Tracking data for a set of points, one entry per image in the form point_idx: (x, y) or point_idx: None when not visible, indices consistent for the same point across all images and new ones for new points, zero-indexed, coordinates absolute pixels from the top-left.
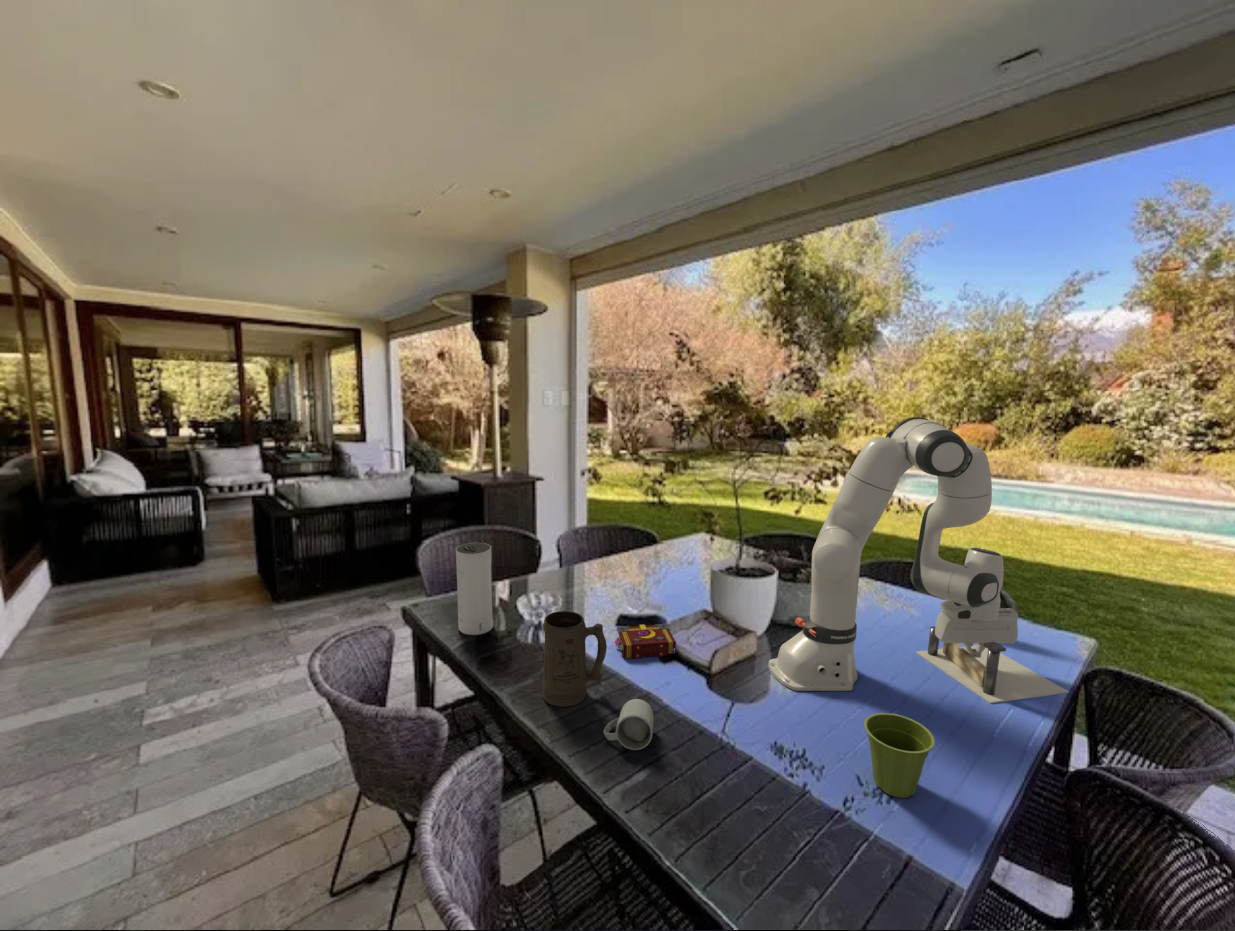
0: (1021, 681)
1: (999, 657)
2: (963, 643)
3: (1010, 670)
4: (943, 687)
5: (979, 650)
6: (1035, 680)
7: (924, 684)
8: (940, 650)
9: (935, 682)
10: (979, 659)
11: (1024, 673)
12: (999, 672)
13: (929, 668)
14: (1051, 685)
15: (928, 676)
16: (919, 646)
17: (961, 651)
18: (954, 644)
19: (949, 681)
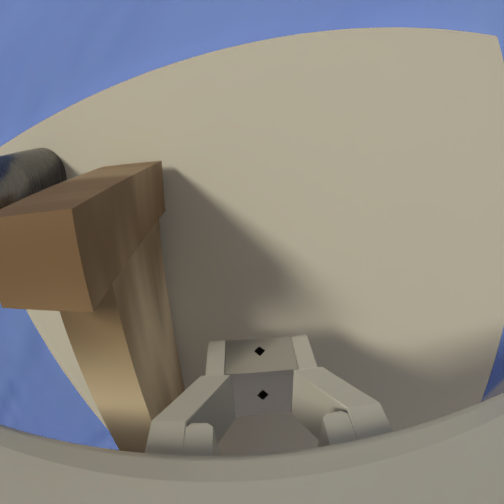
0: (392, 413)
1: (485, 201)
2: (159, 415)
3: (430, 341)
4: (55, 437)
5: (300, 413)
6: (449, 391)
7: (6, 416)
8: (115, 108)
9: (33, 415)
10: (356, 234)
11: (461, 352)
12: (360, 370)
13: (12, 332)
14: (465, 405)
15: (11, 383)
16: (22, 59)
17: (119, 445)
18: (86, 362)
19: (77, 418)
